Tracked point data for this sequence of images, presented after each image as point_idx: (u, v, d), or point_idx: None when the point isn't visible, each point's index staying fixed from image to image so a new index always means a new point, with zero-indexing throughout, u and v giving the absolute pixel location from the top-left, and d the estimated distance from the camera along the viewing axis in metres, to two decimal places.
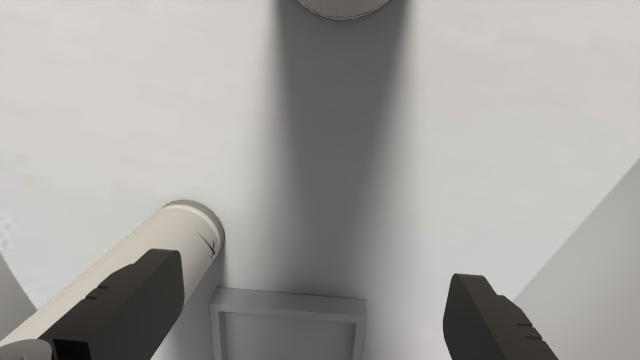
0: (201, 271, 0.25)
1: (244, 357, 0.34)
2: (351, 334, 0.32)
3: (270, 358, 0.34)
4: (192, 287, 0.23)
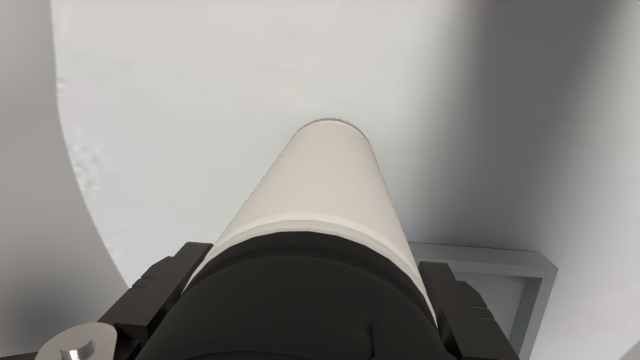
0: None
1: None
2: (518, 297, 0.25)
3: None
4: None
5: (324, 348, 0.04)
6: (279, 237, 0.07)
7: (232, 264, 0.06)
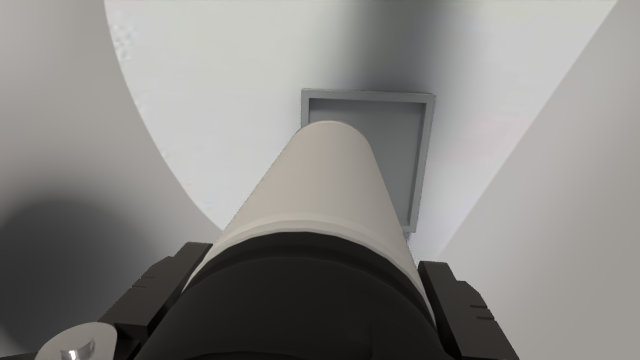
0: None
1: None
2: (418, 127, 0.37)
3: None
4: None
5: (322, 349, 0.04)
6: (278, 238, 0.07)
7: (231, 264, 0.06)
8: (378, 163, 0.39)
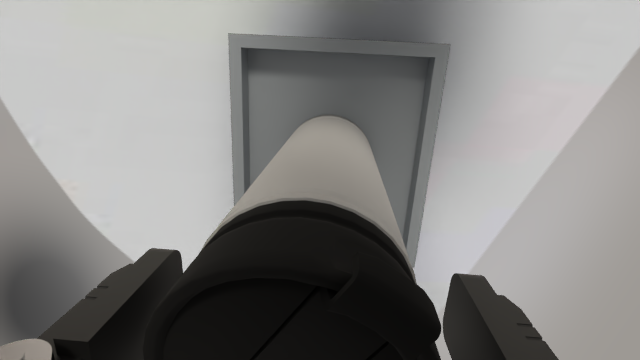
0: None
1: (272, 151, 0.25)
2: (420, 101, 0.23)
3: None
4: None
5: (315, 273, 0.05)
6: (280, 204, 0.08)
7: (241, 226, 0.08)
8: None
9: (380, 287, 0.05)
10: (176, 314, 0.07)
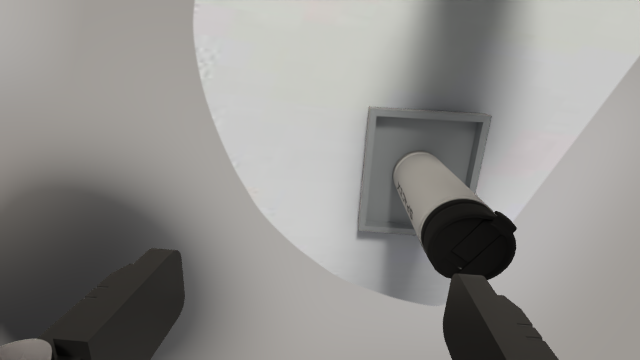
0: None
1: (383, 170, 0.43)
2: (471, 143, 0.41)
3: None
4: None
5: (487, 215, 0.23)
6: (459, 200, 0.26)
7: (449, 206, 0.26)
8: None
9: (503, 218, 0.23)
10: (441, 229, 0.25)
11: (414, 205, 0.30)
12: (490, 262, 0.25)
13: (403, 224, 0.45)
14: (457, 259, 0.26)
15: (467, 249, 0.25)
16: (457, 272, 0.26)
